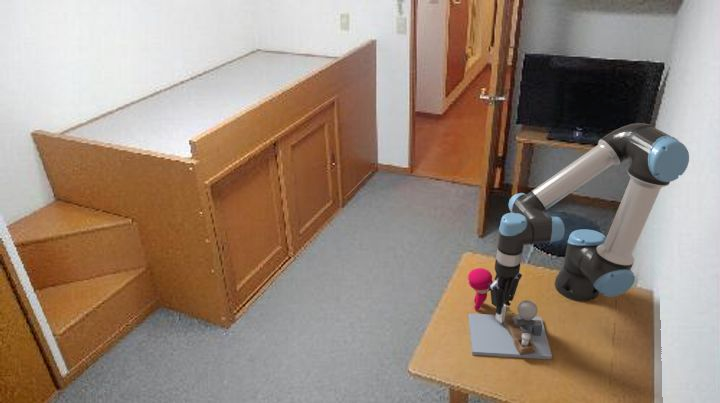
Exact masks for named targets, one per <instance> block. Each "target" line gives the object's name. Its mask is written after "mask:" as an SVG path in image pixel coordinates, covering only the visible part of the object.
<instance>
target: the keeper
mask: <svg viewBox="0 0 720 403" xmlns="http://www.w3.org/2000/svg"><path fill="white" fill-rule="evenodd" d="M542 322H543V321H542ZM542 322H541V320H523V319H513V323H514V326H515V327H532V334H533V336H541V332H542V326H544V324H543V325H542Z"/></svg>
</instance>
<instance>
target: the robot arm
mask: <svg viewBox="0 0 720 403" xmlns="http://www.w3.org/2000/svg"><path fill="white" fill-rule="evenodd" d="M688 150H689V149H687V146H686V145H685V144H684V143H682V142H681V141H680V140H678V139H677V138H676V137H674V136H671V135H670V134H667V133H665V132H664V131H662V130H660V129H658V128H656V127H655V126H653V125H651V124H649V123H645V122H643V123H641V122H637V123H630V124H627V125H624V126H621V127H620V128H617V129H614V130H613V131H611V132H609V133H608V134H606V135H605V136H603V137H602V138H600V139H599V140H598V142H597V145H595V146H594V147H593V148H592V149H590V150H588V151H587V152H586V153H583V155H581V156H580V157H579V158H577V159H576V160H574V161H572V162H571V163H570V164H568V165H566V167H564V168H562V169H561V170H560V171H558V172H557V173H556V174H554V175H553V176H551V177H550V178H548V179H547V180H546V181H544V182H542V183H541V184H540V185H538V186H537V187H535V188H534V189H532V190H531V191H530V192H528V193H524V192H520V193H516V194H514V195H513V196H511V197H510V198H509V202H508V209H509V211H510V212H508V213H505V214H503V215H502V217H501V220H500V224H499V228H498V240H497V246H496V247H497V249H496V256H495V262H494V272H495V277H494V281H493V284H491V283H489V285H488V286H489V288H490V291H489V293H490V301H491V304H492V305H493V306H494V307H495V315H496V317H495V318H496V319H497V320H498V321H500V322H501V323H502V322H504V320H505V314H506V310H507V307H510V306H511V305H512V304H511V302H513V300H514V297H515V295H516V292H517V288H518V285H519V281H520V280H521V278H522V276H523V274H522V273H520V269H521V263H522V258H523V252H524V251H523V250H524V246H526V245H535V244H546V243H547V244H549V243H550V244H551V243H553V242H558V241H559V242H560V241H561V240H563V238H564V236H565V232H566V231H565V224H564V222H563V219H562V218H561V217H560V216H547V214H545V213H544V212H545V211H546V210H548V209H550V208H551V207H552V206H554V205H555V204H557V203H558V202H560V201H562V200H563V199H564V198H565V197H567V196H569V195H570V194H571V193H573V192H574V191H575V190H577V189H579V188H581V187H582V186H583V185H585V184H586V183H588V182H589V181H591V180H592V179H593V178H595V177H596V176H598V175H599V174H601V173H602V172H604V171H605V170H607V169H609V168H610V167H611V166H613V165H620V164H621V163H623V162H624V161H628V160H629V161H630V164H629V167H628V169H627V174H628V176H629V181H628V184H627V186H626V189H625V192H624V194H623V196H622V199H621V201H620V203H619V206H618V208H617V210H616V213H615V215H614V218H613V220H612V223H611V225H610V228H609V231H608V233H607V235H605V234H604V233H601V232H599V231H597V230H593V229H583V228H582V229H581V228H580V229H576V230H573V231H572V232H570V234H569V236H568V240H567V244H566V245H567V246H566V249H565V256H564V262H563V266H562V268H561V269H560V271H559V272H558V274H557V275H556V277H555V281H554V287H555V289H556V291H557V292H558V293H559V294H561V295H562V296H564V297H565V298H567V299H569V300H570V299H571V300H573V301H578V302H589V301H592V300H595V299H597V297H599V295H600V294H601V295H603V296H604V297H611V298H612V297H617V296H620V295H622V294H625V293H626V292H627V291H629V290H630V289H631V288H632V287H633V286H634V284H635V282H636V276H635V273H634V272H633V271H632V269H633V268H632V267H633V265H634V263H635V258H634V255H633V251H634V250H635V248H636V245H637V244H638V240H639V239H640V236H641V235H642V233H643V230H644V227H645V225H646V222H647V220H648V219H649V216H650V215H651V211H652V209H653V207H654V205H655V202H656V201H657V200H656V199H657V198H658V196H659V193H660V191H661V189H662V188H665V187H668V186H669V185H670V182H671V183H672V182H674V181H675V180H678V179H679V178H680V176H682V175H683V174H684V173H685V172H686V170H687V168H688V166H689V162H690V153H689V151H688Z"/></svg>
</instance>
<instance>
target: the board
mask: <svg viewBox="0 0 720 403" xmlns="http://www.w3.org/2000/svg"><path fill="white" fill-rule="evenodd" d="M512 316H513V317H514V319H521V317H520V315H512ZM467 317H468V318H467V319H468V327H469V328H468V329H469V338H470V345H471V346H470V347H471V354H472V356H473V355H475V356H488V357H489V356H490V357H504V358H505V357H506V358H525V359H540V360H541V359H542V360H552V358H553V355H552V352H551V348H550V344H549V340H548V336H547V334H546V330H545V326H544V322H543V319H542V317H541V316H535V317H534V318H533V319H532V320H541V322H542V325H543V326H542V332H541V336H533V334H532V327H529V329H527V330H525V329H523V328H522V327H520V328H521V330H522V331H523V334H522V343H521V345H522V347H525V346H528V343H529V340H530V339H531V340H532V342H533V343H534V345H535V346H536V349H535V353H529V354H523V355H520V354H519V352H518V351H517V349H516V347H515V346H514V339H513V338H512V336H511V335H510V333H509V331H508V330H507V328H506V327H505V325H504V323H503V322H502V323H501V322H500V321H498V320H497V319H496V318H495V317H496V314H489V313H488V314H484V313H468V316H467Z"/></svg>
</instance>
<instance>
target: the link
mask: <svg viewBox="0 0 720 403" xmlns="http://www.w3.org/2000/svg"><path fill="white" fill-rule="evenodd" d="M513 316H514V315H513V311H512V310H511V308H510V306H507V310H506V314H505V320H504V322H503V323H504V325H505V327H506V328H507V330H508V331H509V333H510V335H511V336H512V338H513V339H514V346H515V347H516V349H517V351H518V352H519V354H520V355H523V354H529V353H535V349H536V346H535V345H534V343H533V342H532V340H531V339H530V340H529V343H528V346H525V347H522V345H521V343H522V334H523V331H522V330H521V328H520V327H515V326H514V323H513V319H514V317H513Z"/></svg>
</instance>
